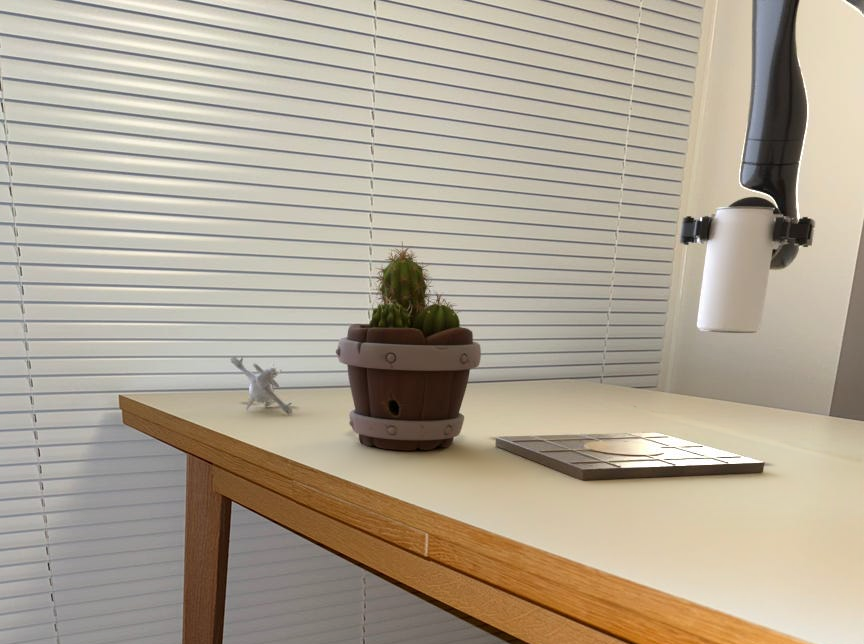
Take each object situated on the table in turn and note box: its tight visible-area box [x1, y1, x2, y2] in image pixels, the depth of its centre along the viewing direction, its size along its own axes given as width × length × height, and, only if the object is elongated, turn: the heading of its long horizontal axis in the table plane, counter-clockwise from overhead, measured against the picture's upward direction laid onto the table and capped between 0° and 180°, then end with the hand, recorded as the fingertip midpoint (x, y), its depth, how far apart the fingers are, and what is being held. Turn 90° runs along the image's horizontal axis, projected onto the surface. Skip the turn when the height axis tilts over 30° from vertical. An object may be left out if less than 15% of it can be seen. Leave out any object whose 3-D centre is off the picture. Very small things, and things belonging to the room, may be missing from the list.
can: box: [696, 206, 775, 334], centre depth 100 cm, size 6×6×12 cm
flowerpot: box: [335, 242, 482, 451], centre depth 98 cm, size 14×15×20 cm
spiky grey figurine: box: [230, 355, 294, 415], centre depth 121 cm, size 10×6×9 cm
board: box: [494, 432, 765, 481], centre depth 97 cm, size 20×18×1 cm
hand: (740, 228), depth 97 cm, fingers closed on can, 6 cm apart
